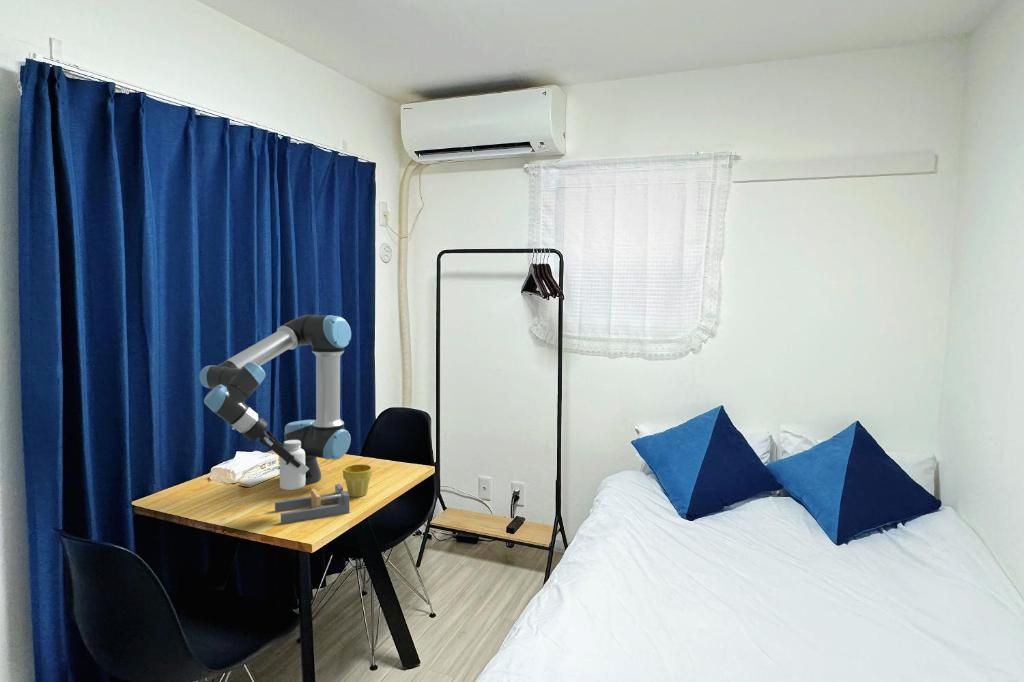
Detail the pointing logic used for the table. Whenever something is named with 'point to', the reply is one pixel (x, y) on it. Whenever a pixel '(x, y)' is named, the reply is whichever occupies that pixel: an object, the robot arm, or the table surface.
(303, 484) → the pill bottle
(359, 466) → the plant pot
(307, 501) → the lane
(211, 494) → the table surface
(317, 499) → the pusher
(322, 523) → the table surface
